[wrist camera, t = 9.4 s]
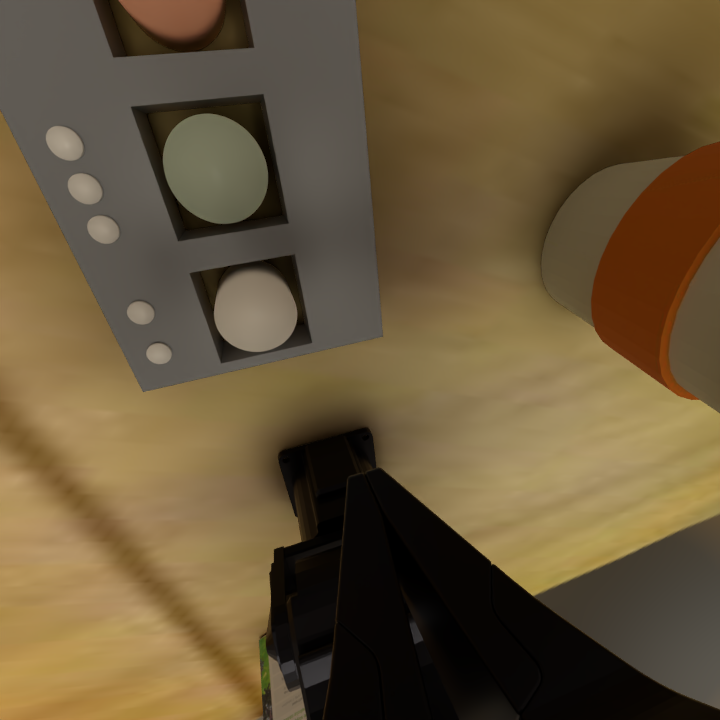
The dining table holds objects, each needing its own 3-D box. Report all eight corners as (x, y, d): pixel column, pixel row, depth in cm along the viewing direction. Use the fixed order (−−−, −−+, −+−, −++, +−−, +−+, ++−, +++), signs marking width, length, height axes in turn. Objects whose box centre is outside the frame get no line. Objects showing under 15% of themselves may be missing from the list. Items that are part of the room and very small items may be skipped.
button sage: (271, 206, 17) (277, 216, 15) (192, 219, 17) (183, 231, 14) (252, 115, 15) (254, 108, 13) (161, 125, 15) (145, 119, 12)
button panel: (368, 319, 22) (384, 338, 19) (153, 366, 19) (142, 394, 17) (323, -129, 13) (341, -190, 11) (-82, -137, 11) (-169, -217, 8)
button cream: (295, 319, 20) (303, 342, 18) (229, 333, 20) (227, 359, 17) (281, 253, 18) (288, 269, 16) (207, 266, 18) (202, 285, 15)
